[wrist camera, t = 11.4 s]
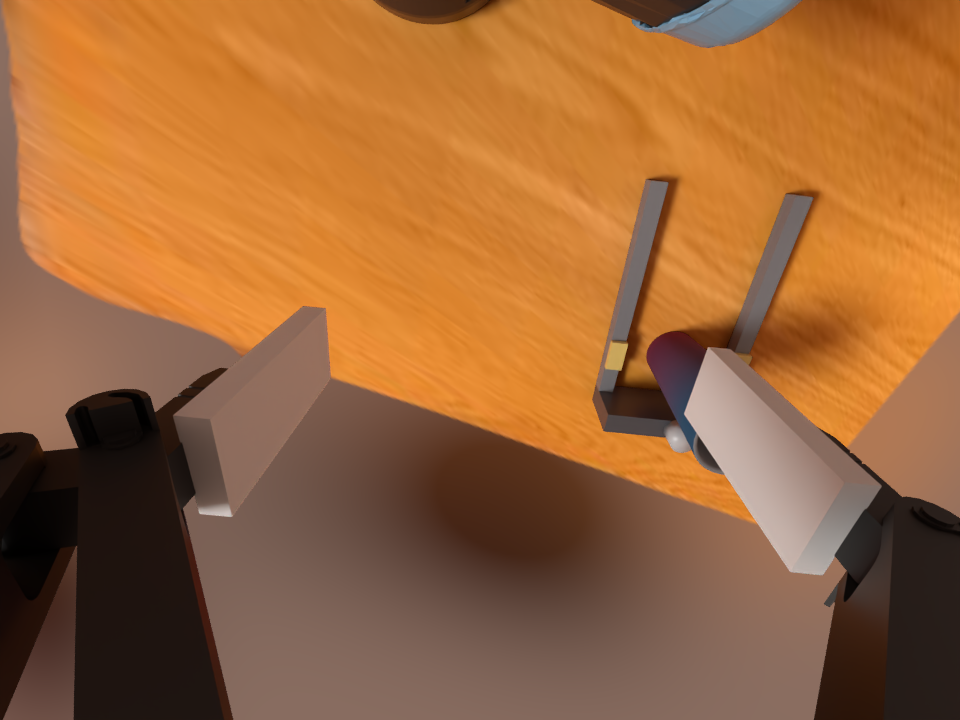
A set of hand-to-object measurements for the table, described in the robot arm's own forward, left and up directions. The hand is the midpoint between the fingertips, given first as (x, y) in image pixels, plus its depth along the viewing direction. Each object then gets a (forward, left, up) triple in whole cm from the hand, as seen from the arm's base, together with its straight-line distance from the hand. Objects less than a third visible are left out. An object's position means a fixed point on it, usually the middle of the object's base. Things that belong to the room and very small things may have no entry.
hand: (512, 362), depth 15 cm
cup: (+11, +19, -29) cm, 36 cm away
